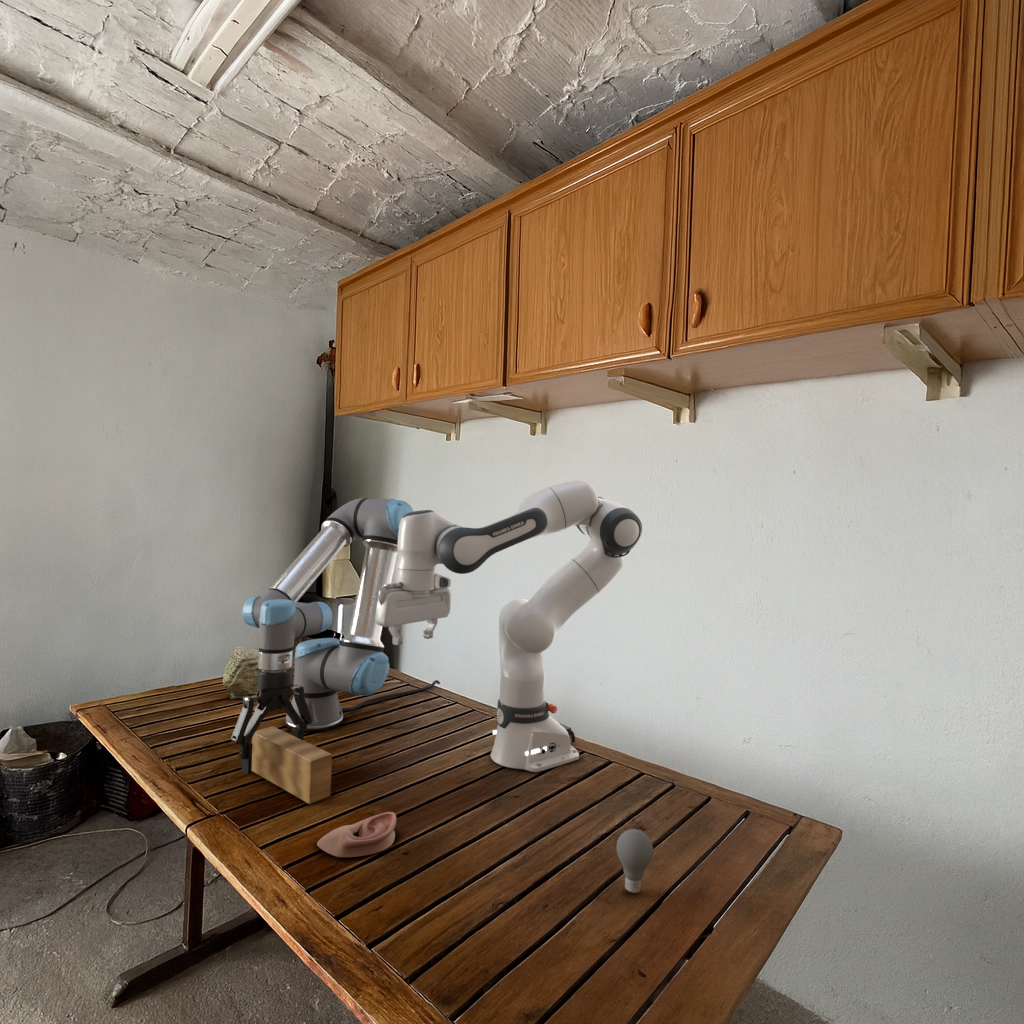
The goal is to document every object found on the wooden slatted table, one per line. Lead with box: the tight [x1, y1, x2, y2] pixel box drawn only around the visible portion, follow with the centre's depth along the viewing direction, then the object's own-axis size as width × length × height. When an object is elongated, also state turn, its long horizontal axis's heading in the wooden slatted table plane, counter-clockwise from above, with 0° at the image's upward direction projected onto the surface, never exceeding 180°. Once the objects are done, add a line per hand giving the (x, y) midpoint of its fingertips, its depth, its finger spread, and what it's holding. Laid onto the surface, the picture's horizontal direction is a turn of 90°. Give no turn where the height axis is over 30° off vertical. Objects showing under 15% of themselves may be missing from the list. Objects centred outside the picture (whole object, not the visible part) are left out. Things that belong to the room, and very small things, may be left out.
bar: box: [251, 725, 333, 805], centre depth 140 cm, size 23×5×9 cm, turn 51°
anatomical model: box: [316, 811, 397, 858], centre depth 117 cm, size 13×4×12 cm
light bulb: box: [615, 828, 654, 894], centre depth 106 cm, size 6×6×10 cm
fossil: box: [222, 646, 260, 699], centre depth 198 cm, size 9×18×15 cm, turn 132°
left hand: (271, 764), depth 144 cm, fingers open, 11 cm apart
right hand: (413, 641), depth 145 cm, fingers open, 8 cm apart
